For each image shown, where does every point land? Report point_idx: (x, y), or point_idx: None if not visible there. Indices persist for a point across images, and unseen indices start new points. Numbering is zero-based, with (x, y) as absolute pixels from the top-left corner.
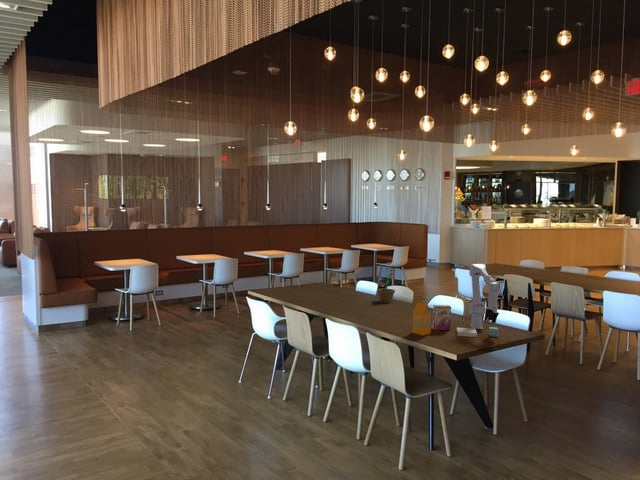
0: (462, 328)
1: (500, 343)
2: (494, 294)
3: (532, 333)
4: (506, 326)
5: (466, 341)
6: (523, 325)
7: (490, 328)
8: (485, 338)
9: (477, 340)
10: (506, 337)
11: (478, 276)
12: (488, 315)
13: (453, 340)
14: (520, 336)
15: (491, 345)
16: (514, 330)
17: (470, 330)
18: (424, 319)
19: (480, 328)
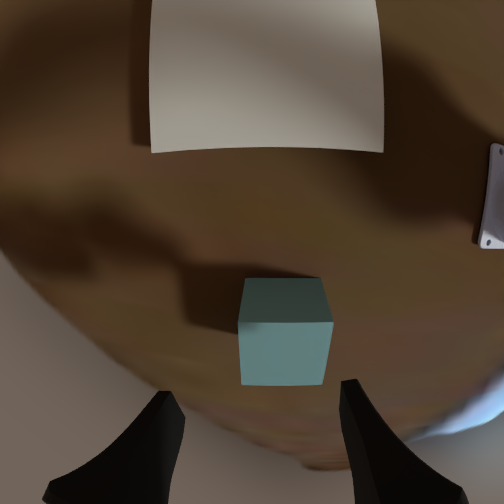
0: (346, 3)
1: (66, 314)
2: None
3: None
4: (500, 374)
5: (22, 87)
6: (488, 419)
7: (253, 326)
8: (143, 229)
9: (60, 160)
10: None
11: None
12: (360, 439)
13: (34, 8)
14: (294, 434)
15: (8, 253)
16: (427, 412)
17: (269, 77)
18: None
19: (482, 226)
